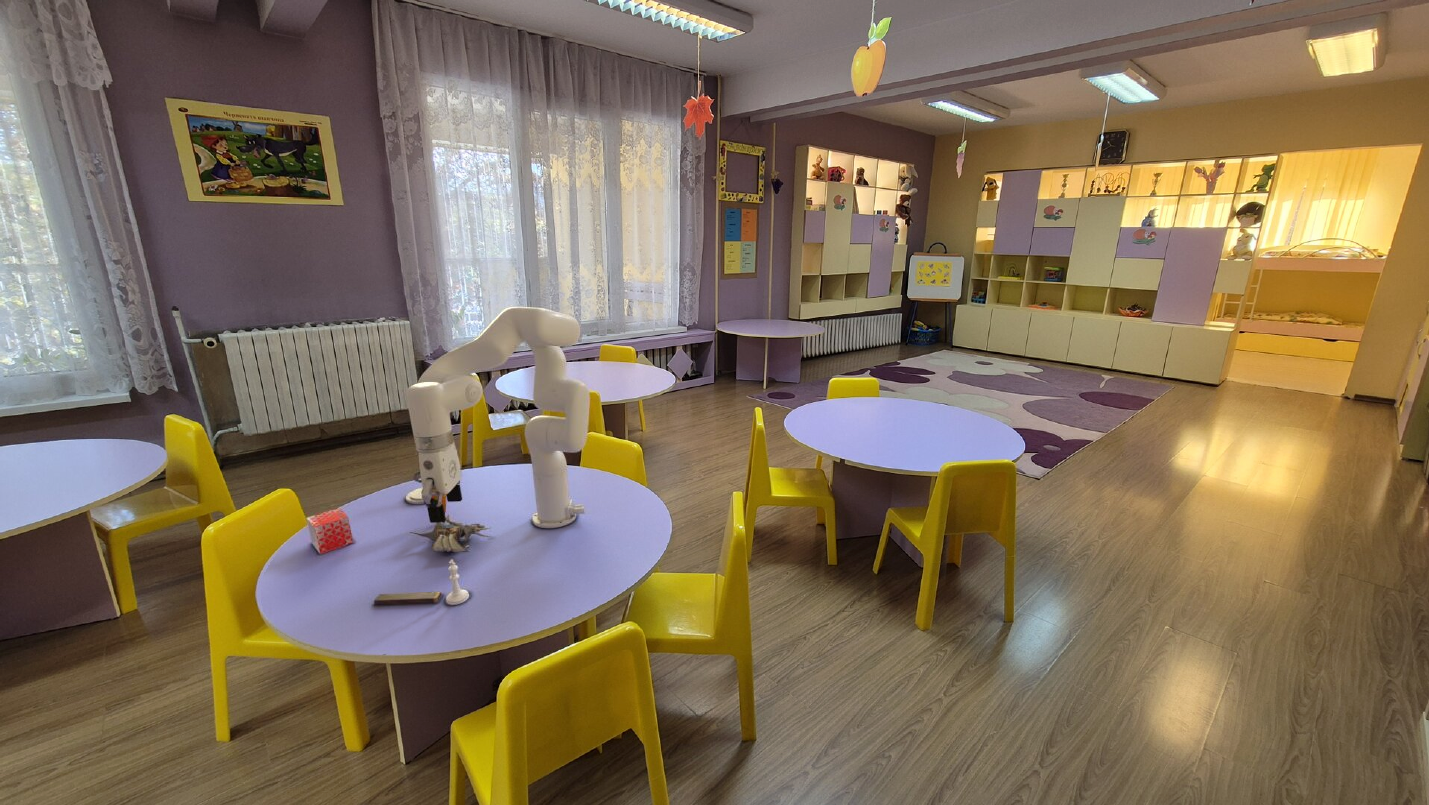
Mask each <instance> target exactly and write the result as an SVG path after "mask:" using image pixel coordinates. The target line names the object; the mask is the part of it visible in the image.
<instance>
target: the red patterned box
mask: <svg viewBox="0 0 1429 805" xmlns="http://www.w3.org/2000/svg"><path fill="white" fill-rule="evenodd" d="M306 523H307V528H308V531H309V536H310V539H311V544H312V546H313V547H314V548H315V550H317V552H318V553H319V555H322V554H324V553H327V552H330V551H333V550H337V549H339V548H342V547H346V546H348V545H351V544H354V543H355V542H354V537H353V533H352V528H351V523H350V519H349V516H348V515H347V514H346V513H345V511H344V510H342V508H340V507H338V508H335V509H334V508H333V509H331V510H328V511H325V512H321V513H317V514H313V515H312V516H308V517H306Z"/></svg>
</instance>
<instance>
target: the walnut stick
mask: <svg viewBox="0 0 1429 805" xmlns="http://www.w3.org/2000/svg"><path fill="white" fill-rule="evenodd" d="M442 597H443V594H442V591H440V590H438V591H423V592H422V591H421V592H399V593H379V594H378V595H377V596H376V597H375V598H374V600H373V602H374V606H384V605H385V606H386V605H389V606H390V605H407V604H409V605H410V604H433V603H438V602H439V601H440V600H441V598H442Z"/></svg>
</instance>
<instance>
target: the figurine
mask: <svg viewBox="0 0 1429 805" xmlns="http://www.w3.org/2000/svg"><path fill="white" fill-rule="evenodd" d="M445 517H446V521H445V522H440V523H435V526H434V527H433V529H432V531H429V532H415V531H410V532H409V533H410V534H414V535H417V536H420V537H424V538H428V539H430V540H432V541H433V544H432V546H431V550H432V551H433V552H435V553H439V552H440V553H443V552H447V553H448V554H449V553H450V552H453V553H470V550H469V549H470V545H466V546H465V547H463V546H462V543H459V541H460V542H461V541H464V543H466V542H467V541H468V540H469V538H470V537H471V536H472V535H477V536H480V537H483V538H490V537H492V535H486V534H483V533H481V531H486V530H489V531H491V530H492V527H491V526H490V527H486V526H485V525H484V524H480V523H472V524H467V523H466V524H463V523H462V522H459V521H453V520H452V519H451V517H450V514H448V515H447V516H445ZM445 523H448V524H445Z"/></svg>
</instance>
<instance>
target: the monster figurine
mask: <svg viewBox="0 0 1429 805" xmlns="http://www.w3.org/2000/svg"><path fill="white" fill-rule="evenodd" d="M419 475H421V474H420V470H419V471H416V472H415V473H414V475H412V478H413V480H414V481H415V482H417V483H420V484H422V481H421V479H419ZM422 492H423V486H422V487H420V488H417V489H414V490H412V491H410V492H408V493H407V494H406V496H405V499H406V502H407V503H408V504H412V505H423V504H424V500H423V498H422V496H421V495H422ZM424 505H425V504H424Z"/></svg>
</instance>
